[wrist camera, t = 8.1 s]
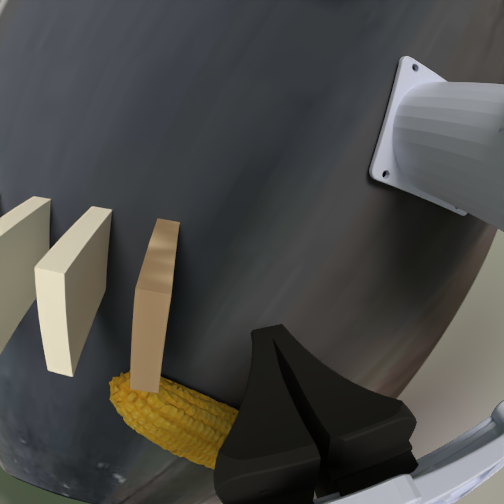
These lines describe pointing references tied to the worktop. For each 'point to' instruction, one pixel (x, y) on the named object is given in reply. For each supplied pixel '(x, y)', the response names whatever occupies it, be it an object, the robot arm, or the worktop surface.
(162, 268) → the domino
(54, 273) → the domino
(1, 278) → the domino
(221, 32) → the worktop surface
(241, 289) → the worktop surface
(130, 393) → the food
